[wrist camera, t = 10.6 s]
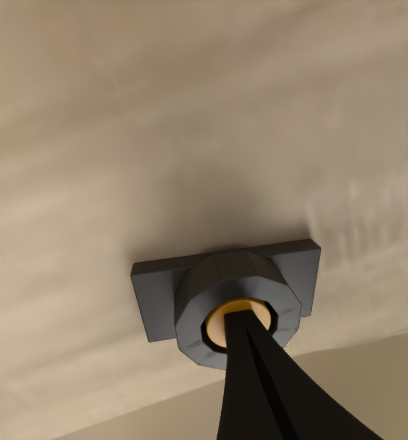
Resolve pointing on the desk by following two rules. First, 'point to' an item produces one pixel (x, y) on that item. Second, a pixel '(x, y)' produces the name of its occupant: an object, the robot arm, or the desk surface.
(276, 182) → the desk surface
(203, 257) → the base
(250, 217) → the desk surface
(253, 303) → the button
